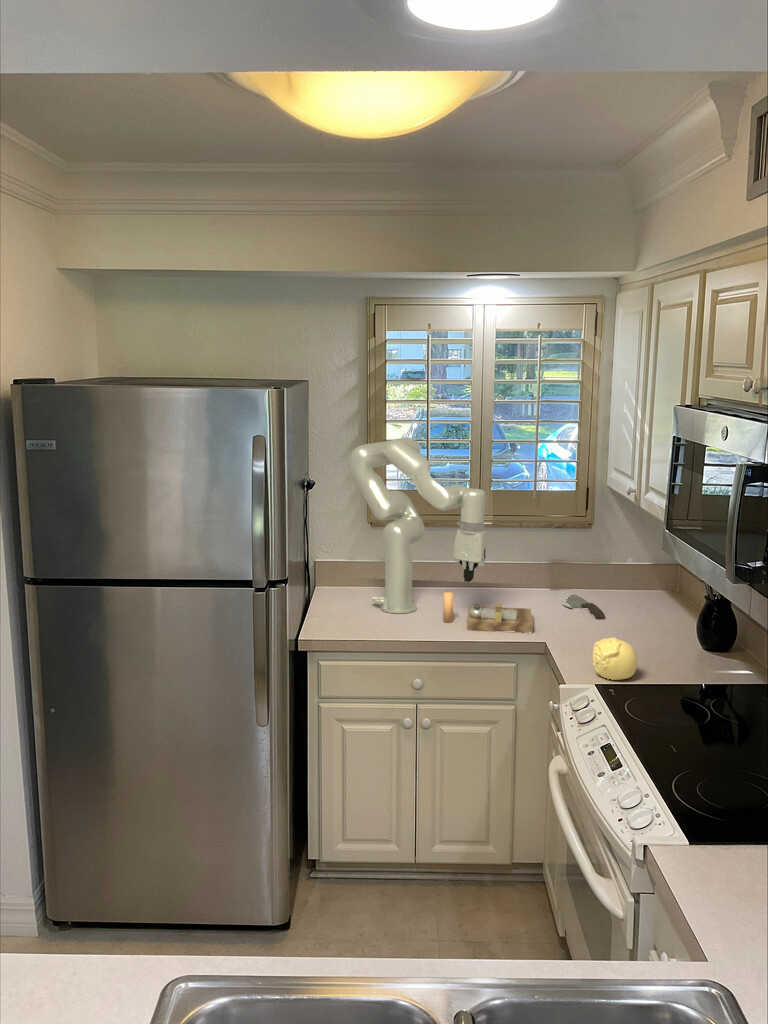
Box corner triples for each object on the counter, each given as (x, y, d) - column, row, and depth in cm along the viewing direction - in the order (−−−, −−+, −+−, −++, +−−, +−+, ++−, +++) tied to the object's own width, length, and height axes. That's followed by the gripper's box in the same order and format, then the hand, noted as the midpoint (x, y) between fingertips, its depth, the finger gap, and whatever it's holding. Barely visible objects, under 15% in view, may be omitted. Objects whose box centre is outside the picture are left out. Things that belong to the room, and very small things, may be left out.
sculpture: (587, 668, 237) (588, 632, 235) (629, 668, 237) (631, 632, 235) (597, 684, 226) (598, 645, 224) (641, 684, 226) (643, 646, 224)
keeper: (494, 621, 269) (494, 608, 269) (494, 615, 276) (494, 602, 275) (502, 622, 269) (502, 608, 268) (501, 616, 275) (502, 603, 275)
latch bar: (469, 617, 273) (469, 610, 273) (470, 613, 277) (470, 606, 277) (516, 620, 270) (516, 613, 269) (517, 616, 274) (517, 609, 274)
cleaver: (611, 619, 283) (611, 613, 283) (584, 621, 281) (584, 615, 281) (574, 596, 311) (575, 591, 311) (550, 598, 309) (550, 592, 309)
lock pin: (443, 622, 278) (443, 593, 276) (443, 619, 281) (444, 591, 279) (452, 623, 278) (453, 594, 276) (453, 620, 281) (453, 591, 279)
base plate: (466, 630, 270) (467, 609, 269) (468, 614, 287) (468, 595, 286) (532, 633, 268) (533, 612, 266) (530, 617, 284) (530, 597, 283)
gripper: (446, 525, 273) (442, 579, 276) (488, 532, 266) (485, 587, 269) (455, 521, 279) (452, 574, 283) (497, 527, 272) (493, 582, 276)
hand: (468, 580), depth 276 cm, fingers closed
